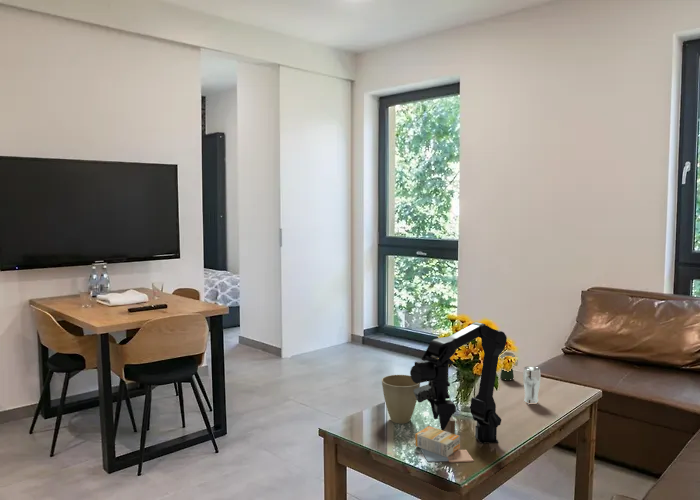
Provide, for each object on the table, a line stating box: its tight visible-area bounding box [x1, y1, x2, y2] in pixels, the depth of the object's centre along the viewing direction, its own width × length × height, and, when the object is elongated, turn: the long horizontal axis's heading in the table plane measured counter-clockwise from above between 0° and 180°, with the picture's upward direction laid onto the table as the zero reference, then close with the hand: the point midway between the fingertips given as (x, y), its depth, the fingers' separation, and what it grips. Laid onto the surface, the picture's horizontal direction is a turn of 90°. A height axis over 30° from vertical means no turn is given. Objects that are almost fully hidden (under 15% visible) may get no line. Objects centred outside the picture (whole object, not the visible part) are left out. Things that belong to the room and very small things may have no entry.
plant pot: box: [381, 374, 421, 425], centre depth 213 cm, size 15×15×16 cm
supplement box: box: [414, 425, 461, 457], centre depth 187 cm, size 8×5×13 cm
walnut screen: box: [443, 415, 456, 435], centre depth 195 cm, size 5×12×9 cm, turn 6°
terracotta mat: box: [447, 449, 474, 463], centre depth 182 cm, size 8×8×1 cm
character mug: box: [499, 351, 519, 381], centre depth 264 cm, size 11×7×13 cm, turn 43°
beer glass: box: [522, 365, 541, 403], centre depth 232 cm, size 7×7×15 cm
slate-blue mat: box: [420, 448, 455, 463], centre depth 183 cm, size 10×10×1 cm
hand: (439, 424), depth 182 cm, fingers open, 9 cm apart
